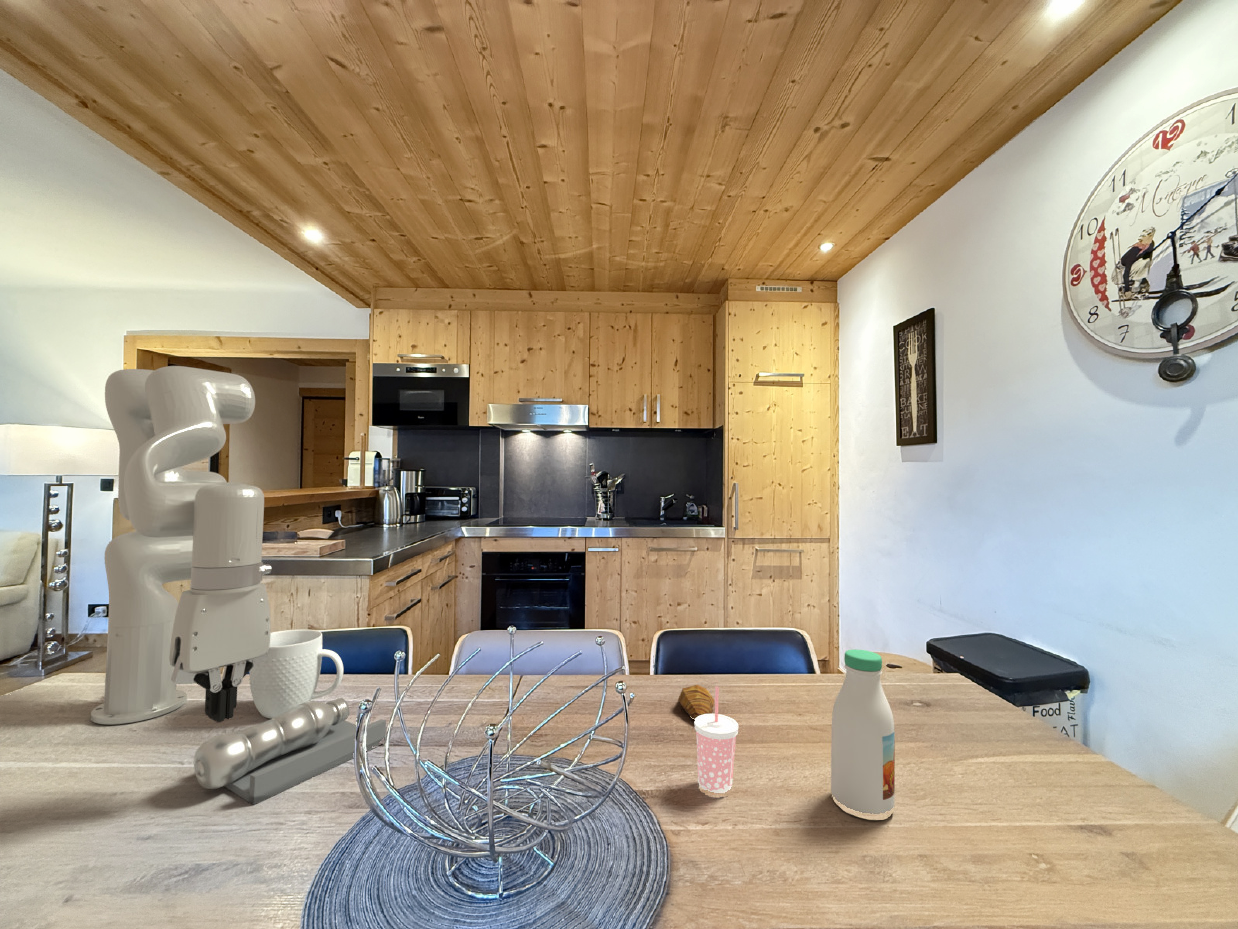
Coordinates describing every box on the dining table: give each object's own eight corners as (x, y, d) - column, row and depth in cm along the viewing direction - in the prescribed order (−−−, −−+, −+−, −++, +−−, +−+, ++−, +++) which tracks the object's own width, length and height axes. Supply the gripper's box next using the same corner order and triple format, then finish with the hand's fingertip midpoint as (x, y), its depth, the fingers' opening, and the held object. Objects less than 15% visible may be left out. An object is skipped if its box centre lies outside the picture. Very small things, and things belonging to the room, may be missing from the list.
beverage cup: (710, 771, 78) (712, 675, 79) (746, 789, 74) (748, 687, 74) (683, 787, 74) (686, 685, 74) (720, 807, 69) (722, 699, 70)
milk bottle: (867, 830, 66) (869, 666, 66) (818, 796, 72) (819, 648, 73) (907, 813, 69) (908, 658, 70) (856, 783, 76) (857, 642, 77)
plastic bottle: (212, 749, 67) (355, 692, 85) (185, 739, 70) (328, 686, 88) (212, 801, 67) (356, 733, 85) (186, 789, 70) (329, 725, 88)
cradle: (207, 776, 74) (209, 750, 74) (338, 723, 90) (339, 703, 90) (253, 805, 68) (255, 777, 68) (385, 743, 84) (386, 721, 84)
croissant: (673, 697, 106) (673, 671, 106) (706, 697, 106) (707, 672, 106) (683, 728, 92) (683, 699, 92) (722, 729, 92) (722, 699, 92)
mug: (349, 695, 102) (352, 627, 103) (332, 721, 91) (335, 644, 92) (263, 700, 99) (266, 630, 99) (234, 727, 88) (237, 648, 89)
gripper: (271, 567, 79) (266, 692, 78) (143, 583, 66) (135, 733, 65) (300, 573, 75) (294, 704, 74) (169, 590, 62) (161, 750, 62)
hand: (220, 717), depth 70 cm, fingers closed
